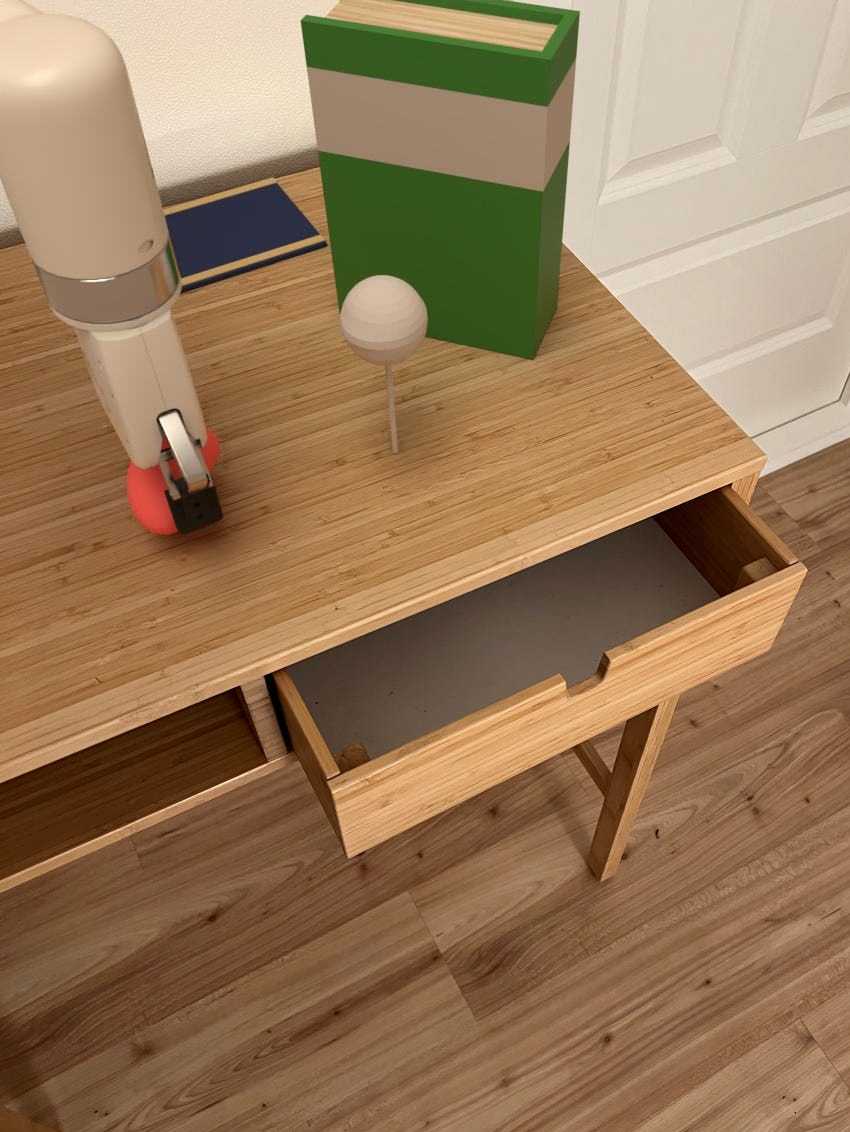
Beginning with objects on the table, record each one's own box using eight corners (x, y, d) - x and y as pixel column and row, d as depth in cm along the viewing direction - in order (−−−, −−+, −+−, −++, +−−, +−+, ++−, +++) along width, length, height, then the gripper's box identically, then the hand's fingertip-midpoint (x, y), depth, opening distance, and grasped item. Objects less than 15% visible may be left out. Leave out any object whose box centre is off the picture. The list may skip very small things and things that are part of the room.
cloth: (142, 305, 88) (141, 300, 88) (97, 231, 95) (95, 227, 94) (327, 246, 93) (326, 241, 93) (272, 180, 100) (271, 175, 99)
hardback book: (340, 318, 87) (300, 20, 67) (371, 270, 91) (342, -24, 72) (533, 359, 84) (550, 59, 64) (557, 307, 88) (579, 11, 68)
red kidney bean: (111, 524, 72) (98, 503, 66) (166, 417, 74) (158, 386, 67) (179, 554, 73) (172, 536, 67) (231, 447, 74) (230, 420, 68)
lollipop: (386, 414, 80) (370, 246, 68) (448, 441, 78) (443, 273, 66) (341, 461, 77) (316, 293, 65) (405, 490, 75) (391, 323, 63)
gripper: (1, 209, 60) (88, 427, 74) (91, 380, 51) (170, 589, 65) (123, 176, 62) (185, 394, 76) (229, 335, 53) (276, 547, 68)
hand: (178, 483), depth 71 cm, fingers closed on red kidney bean, 8 cm apart
